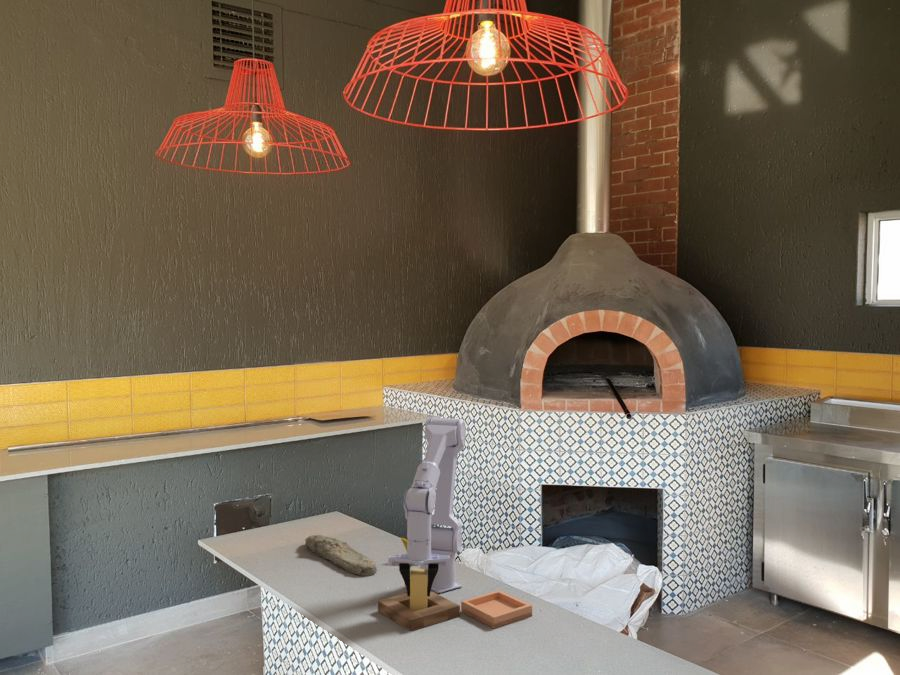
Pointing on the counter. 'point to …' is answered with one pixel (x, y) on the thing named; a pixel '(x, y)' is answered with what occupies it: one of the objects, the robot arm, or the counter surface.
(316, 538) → the long grey stone
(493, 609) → the tray
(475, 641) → the counter surface
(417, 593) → the peg
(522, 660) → the counter surface
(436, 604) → the socket block
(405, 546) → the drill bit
